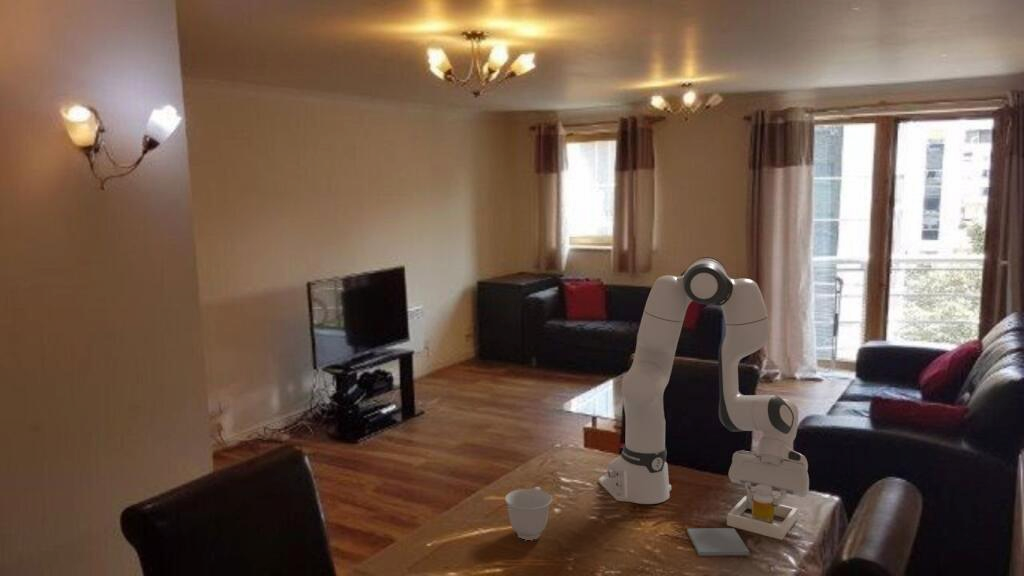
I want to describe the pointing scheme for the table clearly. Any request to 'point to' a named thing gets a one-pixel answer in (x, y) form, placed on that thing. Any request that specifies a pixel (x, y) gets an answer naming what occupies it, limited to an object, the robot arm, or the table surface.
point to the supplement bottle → (763, 504)
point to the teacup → (528, 511)
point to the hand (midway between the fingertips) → (762, 503)
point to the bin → (759, 526)
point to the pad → (717, 541)
